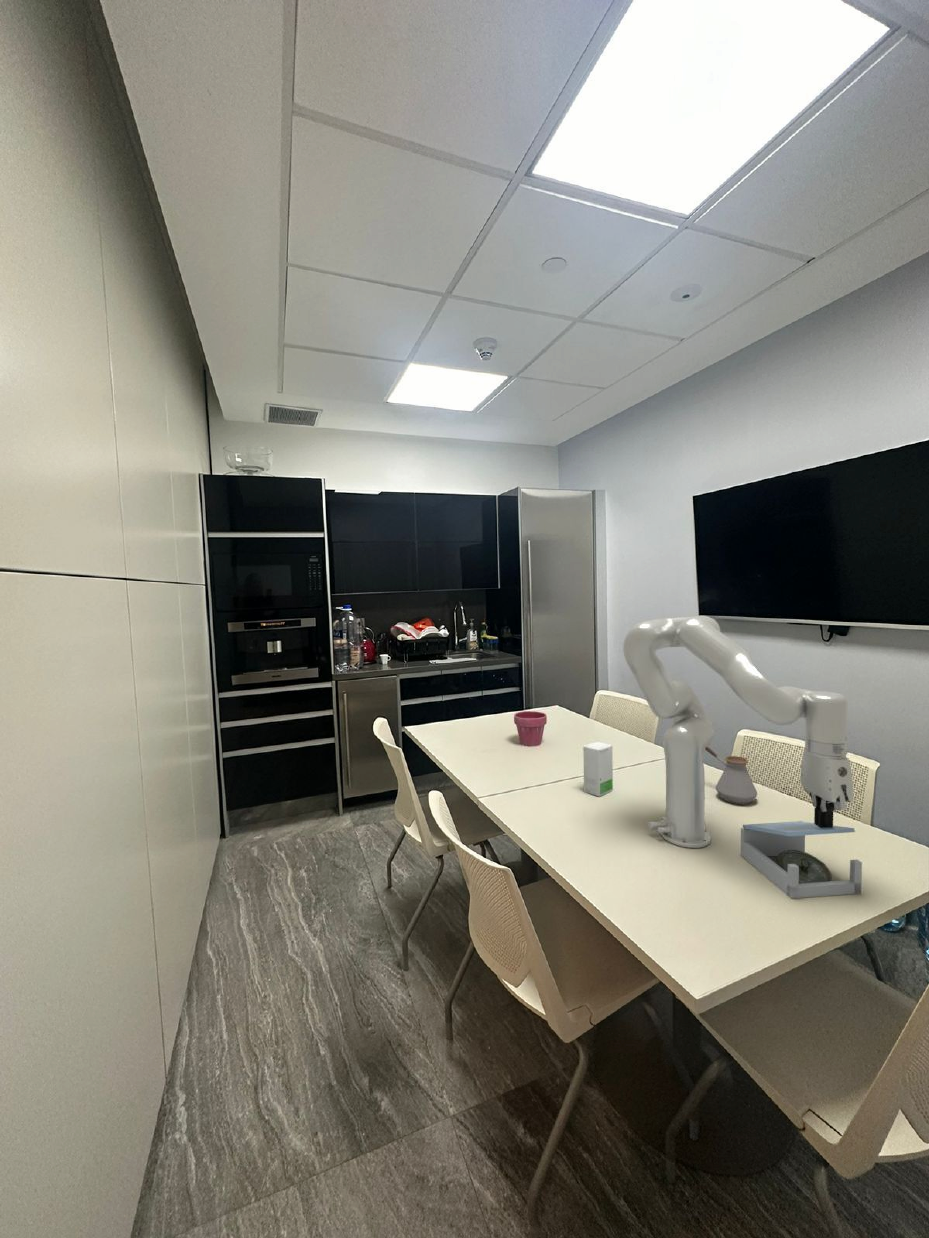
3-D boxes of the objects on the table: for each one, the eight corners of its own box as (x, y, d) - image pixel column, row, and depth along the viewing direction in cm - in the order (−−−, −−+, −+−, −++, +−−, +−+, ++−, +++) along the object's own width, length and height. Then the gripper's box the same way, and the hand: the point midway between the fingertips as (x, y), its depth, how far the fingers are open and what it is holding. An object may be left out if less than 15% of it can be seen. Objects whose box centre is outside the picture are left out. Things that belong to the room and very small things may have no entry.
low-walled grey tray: (791, 898, 106) (791, 867, 105) (740, 854, 123) (740, 827, 123) (861, 893, 107) (861, 862, 106) (801, 850, 124) (801, 824, 124)
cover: (789, 836, 106) (788, 831, 107) (743, 828, 122) (742, 824, 123) (855, 832, 107) (853, 827, 108) (801, 824, 123) (800, 820, 124)
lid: (816, 866, 117) (816, 846, 117) (842, 892, 107) (842, 870, 107) (768, 864, 119) (769, 844, 118) (790, 889, 109) (790, 867, 109)
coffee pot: (765, 802, 152) (766, 755, 151) (739, 810, 147) (740, 761, 146) (707, 778, 171) (708, 736, 170) (683, 784, 167) (683, 741, 166)
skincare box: (599, 797, 159) (598, 750, 158) (582, 791, 164) (581, 745, 163) (613, 790, 164) (613, 744, 163) (597, 784, 169) (596, 740, 168)
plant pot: (530, 736, 226) (529, 708, 225) (553, 743, 215) (553, 714, 214) (507, 743, 217) (507, 714, 216) (531, 750, 206) (530, 720, 205)
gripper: (870, 757, 103) (868, 841, 104) (815, 736, 118) (813, 810, 119) (836, 759, 103) (835, 843, 104) (785, 737, 118) (784, 812, 119)
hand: (823, 825), depth 112 cm, fingers closed
